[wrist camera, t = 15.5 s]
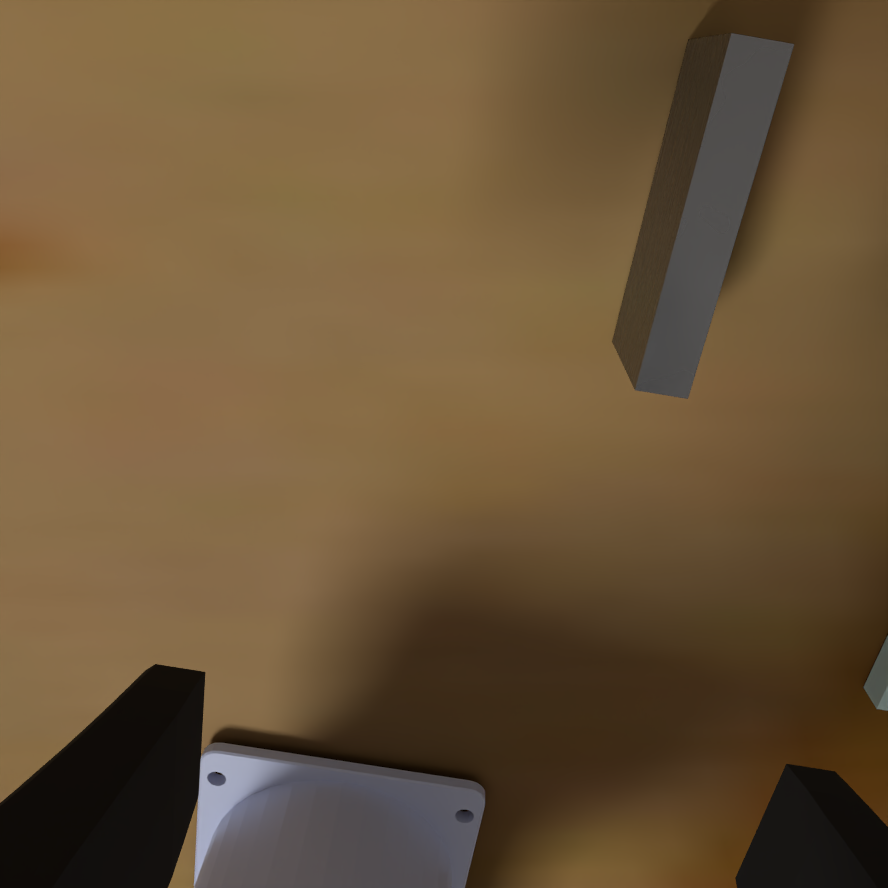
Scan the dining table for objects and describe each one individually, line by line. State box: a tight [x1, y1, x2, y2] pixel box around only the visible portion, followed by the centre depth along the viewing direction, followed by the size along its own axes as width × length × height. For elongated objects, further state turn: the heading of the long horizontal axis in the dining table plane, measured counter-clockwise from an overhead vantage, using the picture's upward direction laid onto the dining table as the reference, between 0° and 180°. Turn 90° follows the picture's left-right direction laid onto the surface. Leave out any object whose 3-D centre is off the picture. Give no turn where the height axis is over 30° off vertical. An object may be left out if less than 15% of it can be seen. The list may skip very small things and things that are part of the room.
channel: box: [612, 33, 794, 399], centre depth 16 cm, size 6×7×3 cm
